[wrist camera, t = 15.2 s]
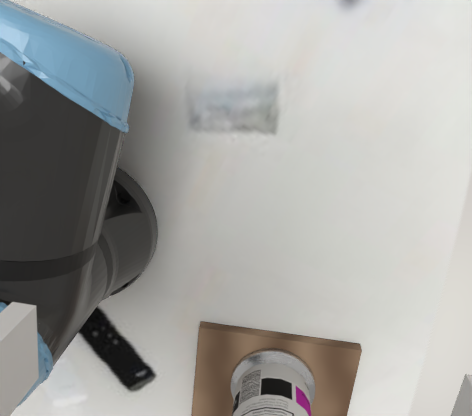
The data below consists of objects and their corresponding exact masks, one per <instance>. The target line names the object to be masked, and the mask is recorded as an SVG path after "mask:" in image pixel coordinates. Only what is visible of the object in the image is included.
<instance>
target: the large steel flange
mask: <svg viewBox="0 0 472 416" xmlns="http://www.w3.org/2000/svg"><path fill="white" fill-rule="evenodd" d="M265 363H276V364H282V365H285V366H287V367H290V368H292V369H294V370H295V371H296V372H298V373H299V374H300V375H301V376H302V377H303V378H304V380H305V381H306V383H307V385H308V387H309V396H310V406H311V404H312V402H313V400H314V397H315V381H314V376H313V373H312V371H311V369H310V367H309V366H308V365H307V363H306V362H305V361H304V360H303V359H301V358H300V357H299V356H297V355H296V354H294V353H292V352H290V351H287V350H283V349H278V348H264V349H259V350H255V351H253V352H251V353H249V354H247V355H245V356H244V357H243V358H242V359H241V360H240V361H239V362H238V363H237V364H236V366H235V368H234V370H233V373H232V378H231V393H232V397H233V399H234V396H235V389H236V386H237V382H238V379H239V378H240V377H241V376H242V374H243V373H244V372H245V371H247V370H248V369H250V368H252V367H253V366H255V365H260V364H265Z"/></svg>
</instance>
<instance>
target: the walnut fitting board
mask: <svg viewBox="0 0 472 416" xmlns="http://www.w3.org/2000/svg"><path fill="white" fill-rule="evenodd" d="M264 348H278V349H283V350H287V351H290V352H292V353H294V354H296V355H297V356H299V357H300V358H301V359H303V360H304V361H305V362H306V363H307V365H308V366H309V367H310V369H311V371H312V373H313V376H314V381H315V397H314V400H313V402H312V404H311V416H347V412H348V408H349V404H350V399H351V395H352V391H353V386H354V382H355V378H356V373H357V369H358V365H359V360H360V356H361V352H362V350H361V346H360V344H357V343H350V342H343V341H335V340H328V339H321V338H314V337H307V336H300V335H293V334H286V333H279V332H272V331H265V330H257V329H250V328H243V327H236V326H229V325H222V324H215V323H208V322H201V323H200V326H199V335H198V347H197V358H196V370H195V382H194V393H193V405H192V416H232V411H233V403H234V399H233V397H232V393H231V378H232V373H233V370H234V368H235V366H236V364H237V363H238V362H239V361H240V360H241V359H242V358H243V357H244V356H245V355H247V354H249V353H251V352H253V351H255V350H259V349H264Z"/></svg>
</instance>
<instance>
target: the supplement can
mask: <svg viewBox="0 0 472 416" xmlns="http://www.w3.org/2000/svg"><path fill="white" fill-rule="evenodd" d="M232 416H311V406H310V396H309V387H308V385H307V383H306V381H305V380H304V378H303V377H302V376H301V375H300V374H299V373H298V372H296V371H295V370H294V369H292V368H290V367H287V366H285V365H282V364H276V363H265V364H260V365H255V366H253V367H252V368H250V369H248V370H247V371H245V372H244V373H243V374H242V376H241V377H240V378H239V379H238V382H237V386H236V389H235V396H234V403H233V411H232Z"/></svg>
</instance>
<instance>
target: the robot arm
mask: <svg viewBox="0 0 472 416" xmlns="http://www.w3.org/2000/svg"><path fill="white" fill-rule="evenodd" d="M133 87H134V73H133V70H132V67H131V65H130V64H129V62H128V60H127V59H126V58H125V57H124V56H123V55H122V54H121V53H120V52H118V51H117V50H115V49H113V48H111V47H110V46H108V45H106V44H104V43H102V42H100V41H98V40H96V39H93V38H91V37H89V36H87V35H85V34H83V33H81V32H78V31H76V30H74V29H72V28H70V27H67V26H65V25H63V24H61V23H59V22H56V21H54V20H52V19H49V18H47V17H45V16H43V15H41V14H38V13H36V12H34V11H32V10H29V9H27V8H25V7H23V6H20V5H18V4H16V3H13V2H11V1H9V0H0V416H10V415H11V414H12V412H13V411H14V410H15V408H16V407H17V406H19V405H20V404H21V403H22V402H24V401H25V400H26V399H27V398H28V396H29V395H30V394H31V393H32V392H33V391H34V390H35V389H36V387H37V386H38V385H39V384H41V383H43V381H44V380H46V379H47V378H48V377H49V374H50V372H51V371H52V369H53V366H54V364H55V363H56V362H57V360H58V359H59V358H60V356H61V355H62V353H63V352H64V351H65V349H66V348H67V347H68V345H69V344H70V342H71V341H72V340H73V338H74V337H75V336H76V334H77V333H78V331H79V330H80V329H81V327H82V326H83V325H84V323H85V322H86V320H87V319H88V318H89V316H90V315H91V314H92V312H93V311H94V309H95V308H96V307H97V305H98V304H99V303H100V301H101V300H103V299H106V298H108V297H109V296H111V295H114V294H116V293H118V292H120V291H122V290H124V289H125V288H127V287H128V286H130V285H131V284H132V283H133V282H134V281H136V280H137V279H138V277H139V276H140V275H141V274H142V272H143V271H144V269H145V268H146V266H147V265H148V263H149V262H150V260H151V258H152V256H153V254H154V251H155V247H156V242H157V222H156V217H155V214H154V210H153V208H152V205H151V203H150V201H149V199H148V198H147V196H146V194H145V193H144V191H143V190H142V189H141V187H140V186H139V185H138V184H137V183H136V182H135V181H134V180H133V179H132V178H131V177H130V176H129V175H127V174H126V173H125V172H123V171H122V170H120V169H119V168H117V164H118V160H119V156H120V152H121V147H122V143H123V139H124V135H125V133H128V130H129V125H128V123H127V119H128V114H129V108H130V103H131V98H132V93H133ZM451 416H472V375H467V374H466V375H465V377H464V380H463V383H462V385H461V388H460V391H459V394H458V397H457V400H456V402H455V405H454V408H453V411H452V414H451Z"/></svg>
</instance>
